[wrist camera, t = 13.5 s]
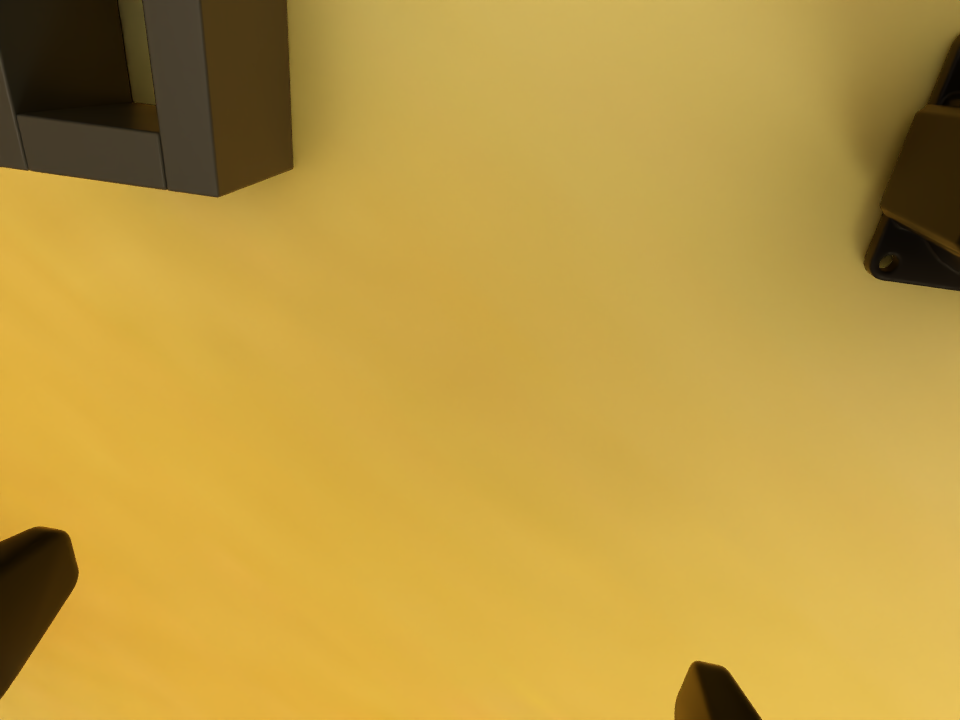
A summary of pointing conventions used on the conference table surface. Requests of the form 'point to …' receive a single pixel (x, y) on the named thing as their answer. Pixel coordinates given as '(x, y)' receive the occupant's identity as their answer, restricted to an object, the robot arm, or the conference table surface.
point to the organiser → (177, 86)
